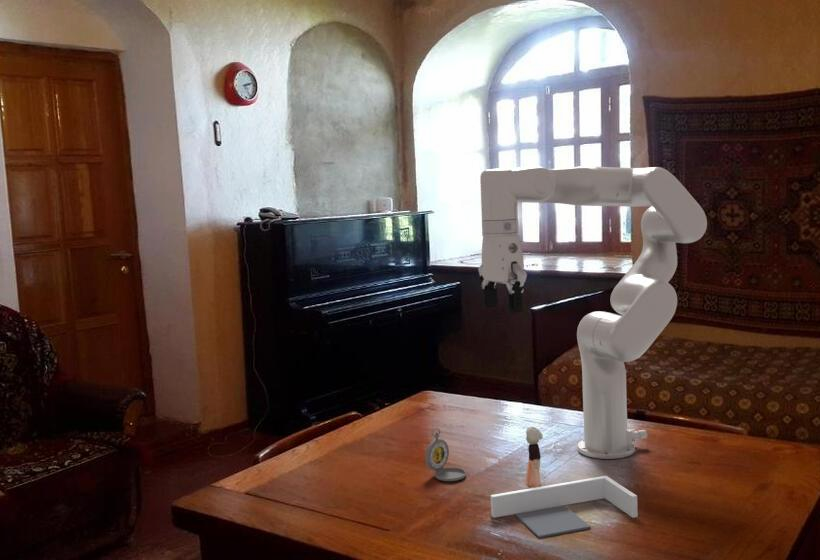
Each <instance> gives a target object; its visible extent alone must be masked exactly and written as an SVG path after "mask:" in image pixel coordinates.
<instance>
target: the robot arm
mask: <svg viewBox="0 0 820 560" xmlns="http://www.w3.org/2000/svg"><path fill="white" fill-rule="evenodd" d="M479 177H480V179H479V180H480V206H481V207H480V208H481V231H482V233H481V236H482V243H481V264H480V265H479V267H478V268H477V270H478V274H479V280H480V282H481V289H482V296H483V297H482V299H483V308H494V307H498V289H497V287H496V285H497V284H503V285H504V284H505V285H506V288H507V290H508V293H507V312H508V313H510V314H515V313H522V312H523V293H524V288H525V286H526V280H527V277H528V273H527V272H526V271H525V265H524V263H525V262H524V253H523V247H522V245H523V244H522V242H521V235H520V234H519V207H518V204H519V203H532V204H533V203H536V204H537V203H539V204H540V203H543V204H564V205H571V206H579V207H580V206H584V207H585V206H588V207H630V208H631V207H636V208H637V207H648V208H647V209H646V210H645V211H644V212H643V214H642V216H641V221H640V229H641V234H642V249H641V253H640V255H639V256H638V258H637V259H636V261H635V262H634V263H633V264H632V266H631V267H630V268H629V269H628V271H627V272H626V273H625V274H624V276H623V277H622V278H621V279H620V280H619V282H618V283H617V284H616V285H615V286H614V288H613V290H612V292H611V294H610V306H611V308H612V309H613V310H614V311H615V312H616V313H612V312H607V311H603V310H602V311H600V310H599V311H598V310H597V311H591V312H590V313H587V314H586V315H584V316H583V317H582V319H581V320H580V321H579V324H578V326H577V330H576V339H577V341H576V342H577V346H578V350H579V353H580V354H579V355H580V356H579V357H580V363H581V372H582V373H581V375H582V377H581V379H582V410H583V411H582V412H583V439H582V440H580V441H578V443H577V451H578V452H579V453H580V454H582V455H583V456H585V457H588V458H589V457H590V458H593V459H601V460H603V459H604V460H616V459H621V458H622V459H623V458H626V457H629V456H632V455H633V454H634V453H635V452H636V446H635V444H634V443H633V442H635V441H636V440H642V439H647V437H648V431H647V430H646V429H641V430H640V429H639V430H636V429H635V428H628V409H627V403H628V401H627V371H626V367H625V363H626V362H627V363H628V362H629V363H630V362H633V361H635V360H637V359H640V357H641V356H643V355H644V353H646V351H647V350H648V349H649V348H650V347H651V346H652V345H653V343H654V341H656V339H657V338H658V337H659V335H660V334H661V333H662V332H663V330H665V327H667V325H668V324H669V323H670V321H671V320H672V318H673V317H674V315H675V313H676V311H677V307H678V296H677V293H676V290H675V288H674V287H673V285H671V284H670V283H669V282H670V280H671V279H672V278H673V276H674V274H675V272H676V270H677V267H678V254H677V252H678V251H677V243H678V244H691V243H695V242H697V241H699V240H700V239H701V238H702V237H703V236H704V234H705V233H706V231H707V226H708V220H707V216H706V213H705V211H704V209H703V207H701V205H700V204H699V203H698V202H697V200H696V199H695V198H694V197H693V196H692V194H691V193H690V192H689V191H688V190H687V188H686V187H685V186H684V185H683V184H682V183H681V182H680V181H679V180H678V179H677V177H676V176H675V175H673V173H671V172H670V171H669V170H667V169H665V168H663V167H661V166H660V167H659V166H653V167H652V166H649V167H613V166H612V167H611V166H593V165H590V166H576V167H575V166H574V167H568V168H566V167H565V168H548V167H544V166H540V165H539V166H538V165H537V166H536V165H532V166H521V167H514V168H491V169H490V168H489V169H486V170H485V169H484V170H483V171H482V172H481V174H480V176H479Z"/></svg>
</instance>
